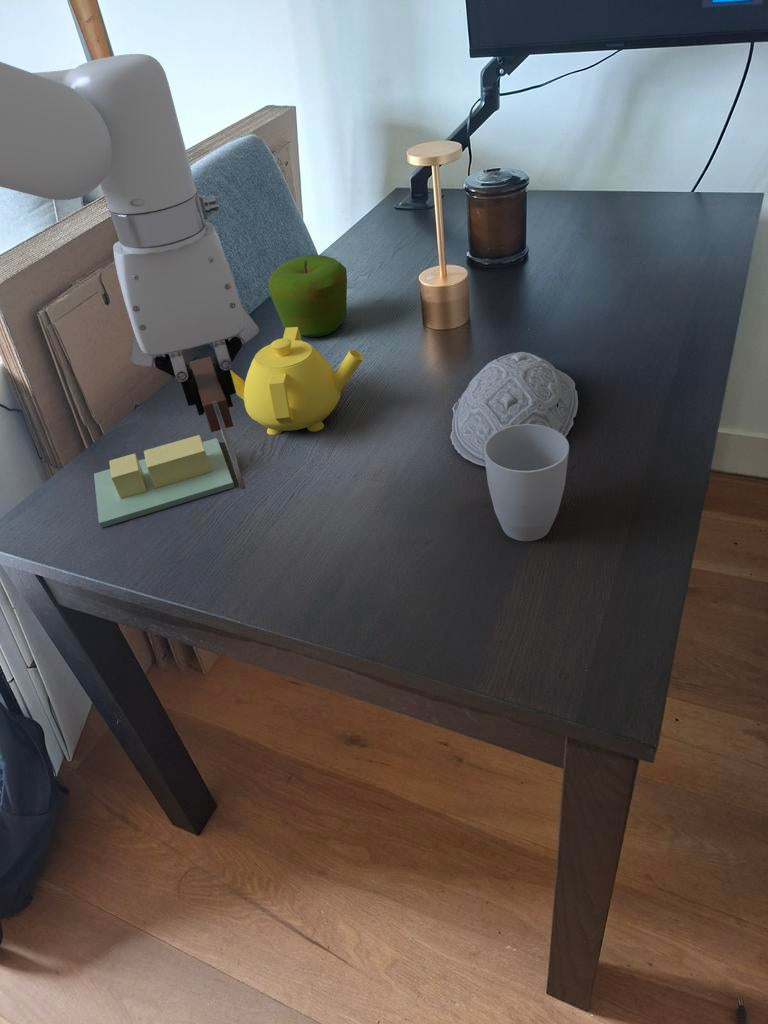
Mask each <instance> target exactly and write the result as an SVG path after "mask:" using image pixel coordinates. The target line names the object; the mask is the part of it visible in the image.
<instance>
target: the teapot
mask: <svg viewBox="0 0 768 1024" xmlns="http://www.w3.org/2000/svg"><path fill="white" fill-rule="evenodd" d="M364 359H365V358H364V356H363V355H362V354H361V353H360V352H359V351H357V350H355V349H349V351H348V352H347V354H346V355H345V357H344V359H343V360H342V362H341V363H340V365H339V366H338V368H337V370H336V371H335V370H334V368H333V366H332V365H331V364H330V363H329V361H328V360H327V359H326V358H325V357H324V356H323V355H322V354H321V353H320V352H319V351H318V350H317V349H316V348H315V347H314V346H313V345H311V344H310V343H308V342H306V341H303V338H302V336H301V335H300V332H299V329H298V327H290V328H284V332H283V336H282V338H276V339H275V340H273V341H272V342H271V343H270V344H268V345H265V346H264V347H262V348H261V349H259V350H258V351H257V353H256V354H255V355H254V357H253V359H252V361H251V363H250V366H249V369H248V371H247V374H246V377H245V380H244V379H243V378H241V377H240V376H239V375H237V374H236V373H235V372H234V371H233V370H231V369H230V372H231V375H232V379H233V383H234V386H235V390H236V394H235V395H237V397H239V398H240V399H242V400H243V403H244V409H245V411H246V414H248V416H249V417H250V418H251V420H253V421H255V422H256V423H258V424H259V425H261V426H263V427H265V428H267V429H266V433H267V434H268V435H269V436H275V435H279V434H281V433H282V432H284V431H285V432H287V431H297V430H303V429H307V430H308V431H310V432H318V431H320V430H322V429H324V427H325V425H324V423H323V421H324V420H325V419H326V418H328V417H329V416H330V414H332V412H333V411H334V410H335V408H336V407H337V405H338V403H339V401H340V400H341V395H342V390H343V389H344V388H345V386H346V384H347V383H348V382H349V380H350V379H351V378H352V377H353V375H354V373H355V372H356V370H357V369H358V368H359V366H360V365H361V363H362V362H363V361H364Z"/></svg>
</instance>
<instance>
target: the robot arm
mask: <svg viewBox="0 0 768 1024" xmlns="http://www.w3.org/2000/svg"><path fill="white" fill-rule="evenodd" d="M171 91H172V90H171V87H170V83H169V80H168V77H167V73H166V71H165V69H164V67H163V66H162V64H161V62H160V61H158V59H157V58H155V57H153V56H152V55H149V54H145V53H128V54H127V53H126V54H117V55H112V56H107V57H106V56H105V57H102V58H101V57H100V58H97V59H93V60H90V61H87V62H84V63H81V64H79V65H77V67H75V68H69V69H62V70H61V69H60V70H53V71H40V72H39V71H38V72H31V71H27V70H25V69H22V68H19V67H16V66H13V65H11V64H8V63H6V62H3V61H0V188H3V189H9V190H11V191H15V192H19V193H23V194H27V195H31V196H34V197H39V198H43V199H47V200H55V201H70V200H75V199H78V198H82V197H84V196H86V195H89V194H91V192H93V191H94V190H95V189H97V188H99V186H100V187H101V191H102V193H103V196H104V198H105V202H106V206H107V208H108V212H109V214H110V217H111V221H112V224H113V228H114V229H115V233H116V235H117V238H118V241H116V242H115V243H114V244H113V245H112V250H113V251H112V252H113V258H114V259H113V260H114V265H115V269H116V274H117V278H118V283H119V286H120V290H121V293H122V298H123V301H124V304H125V305H124V306H125V308H126V311H127V314H128V317H129V320H130V324H131V327H132V328H131V329H132V338H131V347H130V354H129V355H130V361H131V364H132V365H133V366H137V367H144V368H156V369H158V370H159V371H161V372H163V373H165V374H168V375H170V376H172V377H174V378H175V379H176V380H177V381H178V382H180V384H181V387H182V390H183V393H184V396H185V400H186V403H187V406H188V407H191V406H196V411H197V415H198V416H203V415H205V411H204V407H203V404H202V401H201V398H200V395H199V391H198V387H197V383H196V380H195V377H194V374H193V371H192V369H191V367H190V364H187V363H186V361H185V357H184V354H183V351H185V350H191V349H195V348H198V347H202V346H206V345H210V344H211V346H212V349H213V352H214V357H213V362H212V364H213V367H214V371H215V373H216V376H217V379H218V381H219V383H220V385H221V388H222V390H223V393H224V396H225V398H226V401H227V405H228V408H232V407H234V405H233V401H232V398H231V396H232V395H237V394H236V390H235V386H234V383H233V379H232V375H231V372H230V370H231V369H232V367H233V362H234V360H235V358H236V357H237V355H238V354H239V352H240V350H241V348H242V347H243V346H244V345H245V344H248V343H249V342H250V341H251V340H253V339H254V338H256V336H258V335H259V334H260V328H259V326H258V324H257V322H256V321H255V320H254V319H253V318H252V316H251V315H250V314H249V312H248V311H247V310H246V309H245V308H244V306H243V305H242V302H241V298H240V295H239V291H238V288H237V284H236V282H235V278H234V275H233V273H232V270H231V267H230V263H229V260H228V258H227V255H226V253H225V250H224V248H223V244H222V242H221V239H220V236H219V234H218V232H217V230H216V228H215V226H214V224H213V223H212V222H208V221H206V220H208V216H211V215H212V214H213V213H217V212H219V211H220V209H219V204H218V201H217V197H216V195H210V196H206V195H202V194H201V193H198V192H197V187H196V184H195V179H194V177H193V172H192V169H191V164H190V161H189V157H188V153H187V149H186V144H185V140H184V138H183V133H182V129H181V126H180V122H179V117H178V115H177V110H176V107H175V103H174V98H173V94H172V92H171Z"/></svg>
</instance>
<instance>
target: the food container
mask: <svg viewBox="0 0 768 1024" xmlns="http://www.w3.org/2000/svg"><path fill="white" fill-rule="evenodd" d="M578 399H579V396H578V391H577V389H576V383H575V381H574V379H572V377H570V376H569V375H568V374H567V373H565V372H563V371H561V370H560V369H557V368H555V366H554V365H553V364H552V363H551V362H549V361H548V360H546V359H543V358H542V357H540V356H539V355H536V354H533V353H530V352H525V351H519V352H511V353H508V354H505V355H502V356H499V357H498V358H496V359H494V360H491V361H490V362H488V363H486V365H485V366H483V367H482V369H480V371H479V372H477V374H475V376H473V378H471V380H470V381H469V383H468V386H467V387H466V389H465V391H463V392H462V394H461V396H460V397H459V398H458V400H457V401H456V402H455V403H454V405H453V406H452V407H451V409H452V412H453V417H452V420H451V422H452V423H451V430H452V431H451V432H450V437H449V438H450V440H451V444H452V445H453V447H454V449H455V450H456V451H457V453H458V454H459V455H460V456H462V458H464V459H465V460H468V461H470V462H471V463H473V464H476V465H478V466H481V467H482V468H486V464H485V456H484V444H485V442H486V440H487V439H488V438H489V437H490V436H491V435H492V434H493V433H495V432H497V431H498V430H501V429H503V428H506V427H509V426H513V425H520V424H536V425H542V426H546V427H549V428H552V429H554V430H556V431H558V432H560V433H561V434H562V435H563V436H564V437H565V438H567V435H568V434H569V432H570V430H572V429H571V428H572V427H573V426H574V418H575V417H576V416H577V412H578V408H579V400H578Z"/></svg>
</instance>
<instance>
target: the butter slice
mask: <svg viewBox="0 0 768 1024" xmlns="http://www.w3.org/2000/svg"><path fill="white" fill-rule="evenodd" d="M108 462H109V469H110V471H111V478H112V480H113V483H114V485H115V487H116V490H117V492H118V494H119V497H120V499H122V498H126V497H129V496H132V495H136V494H139V493H142V492H146V491H147V489H146V484H145V479H144V474H143V471H142V469H141V466H140V464H139V458H138V456H137V453H131V454H127V455H124V456H121V457H117V458H114V459H110V460H108Z"/></svg>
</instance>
